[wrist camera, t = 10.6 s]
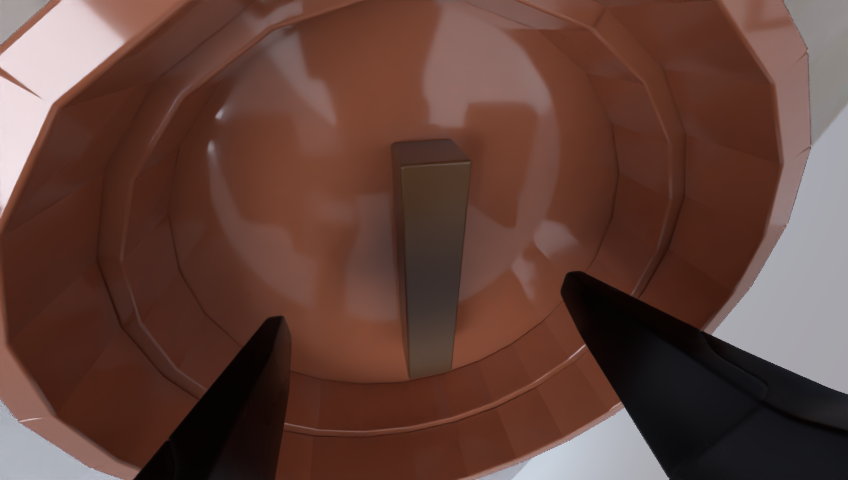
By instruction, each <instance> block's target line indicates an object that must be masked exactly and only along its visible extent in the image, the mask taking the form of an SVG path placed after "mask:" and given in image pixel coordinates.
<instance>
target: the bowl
mask: <svg viewBox="0 0 848 480" xmlns="http://www.w3.org/2000/svg"><path fill="white" fill-rule="evenodd" d="M807 49H808V48H807V46H806V44H805V42H804V40H803V38H802V36H801V34H800V32H799V31H798V29H797V27H796V25H795V23H794V21H793V19H792V17H791V15H790V13H789V11H788V9H787V7H786V5H785V3H784V1H783V0H50V1H49V2H48V3H47V4H45V5H44V6H43V7H42V8H41V9H40V10H39V11H38V12H36V13H35V14H34V15H33V16H32V17H31V18H30V19H29V20H28V21H26V22H25V23H24V24H23V25H22V26H21V27H20V28H19V29H18V30H16V31H15V32H14V33H13V34H12V35H11V36H10V37H9V38H8V39H6V40H5V41H4V42H3V43H2V44H1V45H0V400H1V401H2V403H3V404H4V405H5V406H6V408H7V409H8V410H9V411H10V413H11V414H12V415H13V417H14V418H16V419H18V422H19V423H21V424H22V425H24V426H25V427H27V428H28V429H30V430H31V431H33V432H35V433H36V434H38V435H39V436H41V437H42V438H44V439H45V440H47V441H49V442H50V443H52V444H53V445H55V446H56V447H58V448H60V449H61V450H63V451H64V452H66V453H67V454H69V455H70V456H72V457H74V458H75V459H77V460H78V461H80V462H81V463H83V464H84V465H86V466H88V467H89V468H93V469H94V470H97V471H100V472H103V473H106V474H108V475H111V476H114V477H117V478H120V479H123V480H133V479H134V478H135V477H136V475H137V474H138V473H139V472H140V471H141V469H142V468H143V467H144V466H145V465H146V464H147V462H148V461H149V460H150V459H151V458H152V457H153V455H154V454H155V453H156V452H157V451H158V449H159V448H160V447H161V446H162V444H163V443H164V442H165V441H167V440H169V439H168V438H169V436H170V435H171V434H172V433H173V431H174V430H175V429H176V428H177V426H178V425H179V424H180V423H181V422H182V420H183V419H184V418H185V417H186V416H187V414H188V413H189V412H190V411H191V410H192V408H193V407H194V406H195V405H196V403H197V402H198V401H199V400H200V399H201V397H202V396H203V395H204V394H205V393H206V391H207V390H208V389H209V388H210V386H211V385H212V384H213V383H214V382H215V380H216V379H217V378H218V377H219V376H220V374H221V373H222V372H223V371H224V370H225V368H226V367H227V366H228V365H229V363H230V362H231V361H232V360H233V359H234V357H235V356H236V355H237V354H238V353H239V351H240V350H241V349H242V348H243V347H244V345H245V344H246V343H247V342H248V340H249V339H250V338H251V337H252V336H253V334H254V333H255V332H256V331H257V330H258V328H259V327H260V326H261V325H262V323H263V322H264V321H265V320H266V319H267V318H268V317H272V316H279V315H282V316H284V317H285V319H286V322H287V325H288V327H289V330H290V333H291V337H292V346H291V368H290V388H289V397H288V404H287V410H286V416H285V422H284V428H283V435H282V441H281V447H280V453H279V459H278V465H277V471H276V477H275V480H475V479H478V478H481V477H484V476H486V475H489V474H492V473H495V472H497V471H500V470H503V469H506V468H509V467H511V466H514V465H517V464H519V463H522V462H524V461H526V460H528V459H530V458H533V457H535V456H537V455H539V454H541V453H543V452H545V451H548V450H550V449H552V448H554V447H556V446H558V445H561V444H563V443H565V442H567V441H570V440H571V439H573V438H575V437H576V436H578V435H580V434H582V433H583V432H585V431H587V430H589V429H590V428H592V427H594V426H595V425H597V424H599V423H601V422H602V421H604V420H606V419H608V418H609V417H611V416H613V415H614V414H615V413H617V412H618V411H620V410H621V409H623V408H624V405H623V404H622V402H621V401H620V399H619V397H618V396H617V394H616V393H615V391H614V389H613V388H612V386H611V384H610V383H609V381H608V380H607V378H606V376H605V375H604V373H603V371H602V370H601V368H600V367H599V365H598V363H597V362H596V360H595V359H594V357H593V355H592V354H591V352H590V350H589V349H588V347H587V346H586V344H585V342H584V341H583V339H582V337H581V335H580V334H579V332H578V330H577V328H576V326H575V324H574V322H573V320H572V318H571V315H570V313H569V311H568V309H567V307H566V305H565V303H564V301H563V299H562V297H561V293H560V289H561V286H562V284H563V281H564V278H565V275H566V274H567V273H568V272H571V271H582V272H584V273H586V274H588V275H590V276H592V277H594V278H596V279H598V280H600V281H602V282H604V283H606V284H608V285H610V286H612V287H614V288H616V289H619V290H621V291H623V292H625V293H627V294H629V295H631V296H633V297H635V298H637V299H639V300H641V301H643V302H645V303H647V304H649V305H651V306H653V307H655V308H657V309H659V310H661V311H663V312H665V313H667V314H669V315H671V316H673V317H675V318H677V319H679V320H682V321H684V322H686V323H688V324H690V325H692V326H694V327H696V328H698V329H699V330H700V331H704V332H706V333H708V334H710V335H711V334H712V333H713V332H714V331H715V329H716V328H717V327H718V326H719V325H720V324H721V322H722V321H723V320H724V319H725V318H726V317H727V315H728V314H729V313H730V312H731V311H732V309H733V308H734V307H735V306H736V305H737V303H738V302H739V301H740V300H741V298H742V297H743V296H744V295H745V294H746V293H747V291H748V290H749V288H750V287H751V286H752V285H753V283H754V281H755V279H756V278H757V276H758V274H759V273H760V271H761V269H762V267H763V266H764V264H765V262H766V260H767V259H768V257H769V255H770V253H771V252H772V250H773V248H774V246H775V245H776V243H777V241H778V239H779V238H780V236H781V234H782V233H783V231H784V229H785V227H786V224H788V222H789V219H790V215H791V212H792V209H793V205H794V202H795V199H796V196H797V192H798V189H799V186H800V182H801V179H802V175H803V172H804V169H805V166H806V162H807V159H808V156H809V152H810V149H811V147H810V145H811V118H810V89H809V59H808V53H807ZM447 139H451V140H453V141H454V142H455V143H456V145H457V146H458V147H459V148H460V149H461V150H462V151H463V152H464V153H465V154H466V155H467V156H468V157H469V158H470V159H471V162H472V165H471V175H470V186H469V196H468V206H467V217H466V227H465V237H464V247H463V258H462V268H461V278H460V289H459V299H458V309H457V320H456V330H455V340H454V351H453V361H452V370H451V371H450V372H445V373H439V374H434V375H429V376H424V377H419V378H414V379H410V378H409V376H408V371H407V366H406V360H405V355H404V350H403V344H402V327H401V310H400V292H399V275H398V257H397V239H396V222H395V204H394V186H393V169H392V151H391V145H392V144H393V143H398V142H415V141H431V140H447Z"/></svg>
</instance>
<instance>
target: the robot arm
mask: <svg viewBox="0 0 848 480" xmlns="http://www.w3.org/2000/svg"><path fill="white" fill-rule="evenodd" d="M560 293H561V297H562V299H563V301H564V303H565V305H566V307H567V309H568V311H569V313H570V315H571V318H572V320H573V322H574V324H575V326H576V328H577V330H578V332H579V334H580V335H581V337H582V339H583V341H584V342H585V344H586V346H587V347H588V349H589V350H590V352H591V354H592V355H593V357H594V359H595V360H596V362H597V363H598V365H599V367H600V368H601V370H602V371H603V373H604V375H605V376H606V378H607V380H608V381H609V383H610V384H611V386H612V388H613V389H614V391H615V393H616V394H617V396H618V397H619V399H620V401H621V402H622V404H623V405H624V407H625V408H626V410H627V412H628V413H629V415H630V417H631V418H632V420H633V422H634V423H635V425H636V426H637V428H638V430H639V431H640V433H641V435H642V436H643V437H644V439H645V441H646V443H647V444H648V446H649V447H650V449H651V451H652V452H653V454H654V455H655V457H656V459H657V460H658V462H659V464H660V465H661V467H662V468H663V470H664V472H665V473H666V475H667V477H669V480H848V394H845V393H842V392H839V391H836V390H833V389H831V388H828V387H826V386H823V385H821V384H819V383H817V382H814V381H812V380H810V379H807V378H805V377H803V376H800V375H798V374H796V373H793V372H791V371H789V370H787V369H784V368H782V367H780V366H777V365H775V364H773V363H771V362H768V361H766V360H763V359H762V358H759V357H757V356H755V355H752V354H750V353H748V352H746V351H743V350H741V349H739V348H737V347H735V346H733V345H731V344H729V343H726V342H724V341H722V340H720V339H718V338H716V337H714V336H712V335H710V334H708V333H706V332H704V331H700V330H699V329H698V328H696V327H694V326H692V325H690V324H688V323H686V322H684V321H682V320H679V319H677V318H675V317H673V316H671V315H669V314H667V313H665V312H663V311H661V310H659V309H657V308H655V307H653V306H651V305H649V304H647V303H645V302H643V301H641V300H639V299H637V298H635V297H633V296H631V295H629V294H627V293H625V292H623V291H621V290H619V289H616V288H614V287H612V286H610V285H608V284H606V283H604V282H602V281H600V280H598V279H596V278H594V277H592V276H590V275H588V274H586V273H584V272H582V271H571V272H568V273H567V274H566V275H565V278H564V281H563V284H562V286H561V289H560ZM291 346H292V337H291V333H290V330H289V327H288V325H287V322H286V319H285V317H284V316H282V315H279V316H272V317H268V318H267V319H266V320H265V321H264V322H263V323H262V325H261V326H260V327H259V328H258V330H257V331H256V332H255V333H254V334H253V336H252V337H251V338H250V339H249V340H248V342H247V343H246V344H245V345H244V347H243V348H242V349H241V350H240V351H239V353H238V354H237V355H236V356H235V357H234V359H233V360H232V361H231V362H230V363H229V365H228V366H227V367H226V368H225V370H224V371H223V372H222V373H221V374H220V376H219V377H218V378H217V379H216V380H215V382H214V383H213V384H212V385H211V386H210V388H209V389H208V390H207V391H206V393H205V394H204V395H203V396H202V397H201V399H200V400H199V401H198V402H197V403H196V405H195V406H194V407H193V408H192V410H191V411H190V412H189V413H188V414H187V416H186V417H185V418H184V419H183V420H182V422H181V423H180V424H179V425H178V426H177V428H176V429H175V430H174V431H173V433H172V434H171V435H170V436H169V438H168V439H169V440H167V441H165V442H164V443H163V444H162V446H161V447H160V448H159V449H158V451H157V452H156V453H155V454H154V455H153V457H152V458H151V459H150V460H149V461H148V462H147V464H146V465H145V466H144V467H143V468H142V469H141V471H140V472H139V473H138V474H137V475H136V477H135V478H134V479H133V480H275V477H276V471H277V465H278V459H279V453H280V447H281V441H282V435H283V428H284V422H285V416H286V410H287V404H288V397H289V388H290V368H291Z"/></svg>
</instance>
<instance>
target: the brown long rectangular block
mask: <svg viewBox="0 0 848 480" xmlns="http://www.w3.org/2000/svg"><path fill="white" fill-rule="evenodd" d="M391 151H392V169H393V186H394V204H395V222H396V239H397V257H398V275H399V292H400V310H401V327H402V344H403V350H404V355H405V360H406V366H407V371H408V376H409V378H410V379H414V378H419V377H424V376H429V375H434V374H439V373H445V372H450V371H451V370H452V361H453V351H454V340H455V330H456V320H457V309H458V299H459V289H460V278H461V268H462V258H463V247H464V237H465V227H466V217H467V206H468V196H469V186H470V175H471V165H472V162H471V159H470V158H469V157H468V156H467V155H466V154H465V153H464V152H463V151H462V150H461V149H460V148H459V147H458V146H457V145H456V143H455V142H454V141H453V140H451V139H447V140H431V141H415V142H398V143H393V144H392V145H391Z"/></svg>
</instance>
